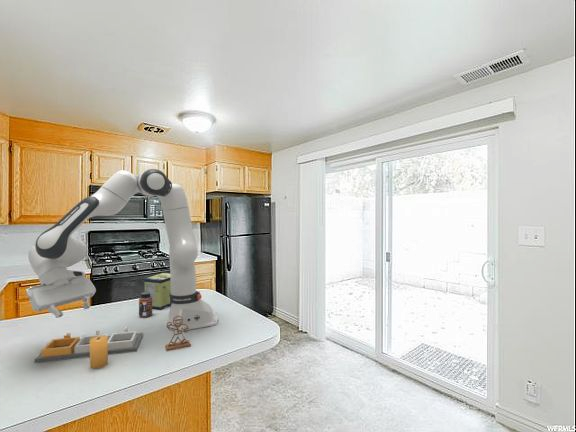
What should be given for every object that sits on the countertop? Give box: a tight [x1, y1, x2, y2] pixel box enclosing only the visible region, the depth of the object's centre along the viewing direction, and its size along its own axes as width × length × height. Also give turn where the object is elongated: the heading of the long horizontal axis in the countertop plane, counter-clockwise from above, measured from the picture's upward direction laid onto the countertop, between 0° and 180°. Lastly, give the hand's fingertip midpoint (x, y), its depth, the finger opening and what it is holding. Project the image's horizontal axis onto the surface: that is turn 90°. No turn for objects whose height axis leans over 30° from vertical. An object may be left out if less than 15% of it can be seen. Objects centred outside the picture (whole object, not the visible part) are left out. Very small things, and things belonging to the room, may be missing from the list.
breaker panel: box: [33, 326, 144, 364], centre depth 118 cm, size 32×14×5 cm, turn 106°
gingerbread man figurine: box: [164, 316, 191, 352], centre depth 119 cm, size 9×4×12 cm, turn 118°
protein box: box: [144, 272, 171, 311], centre depth 168 cm, size 10×16×16 cm
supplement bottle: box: [138, 291, 153, 318], centre depth 151 cm, size 6×6×11 cm
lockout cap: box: [89, 334, 109, 370], centre depth 106 cm, size 5×5×9 cm
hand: (74, 312), depth 110 cm, fingers open, 8 cm apart
